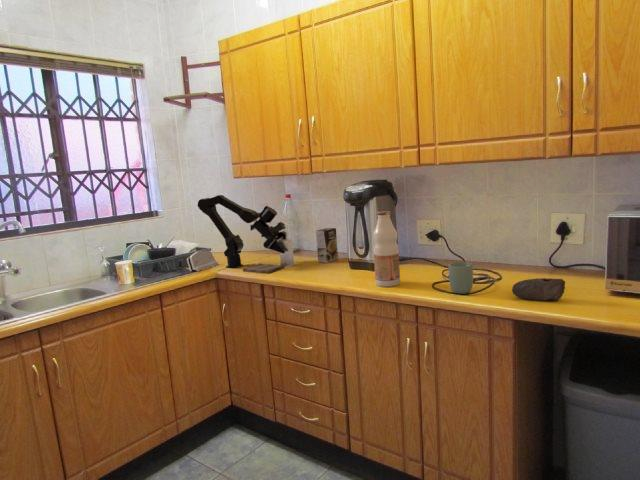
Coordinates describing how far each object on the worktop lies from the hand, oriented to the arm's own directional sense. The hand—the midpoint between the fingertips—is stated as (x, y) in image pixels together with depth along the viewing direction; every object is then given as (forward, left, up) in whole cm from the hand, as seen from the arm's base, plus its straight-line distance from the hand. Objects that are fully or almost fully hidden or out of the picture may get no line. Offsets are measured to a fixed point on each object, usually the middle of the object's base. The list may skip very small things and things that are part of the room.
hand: (287, 250), depth 220 cm
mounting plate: (-7, -11, -7) cm, 15 cm away
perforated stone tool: (+115, -18, -8) cm, 116 cm away
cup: (+91, -18, -8) cm, 93 cm away
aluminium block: (-1, 0, -7) cm, 7 cm away
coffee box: (+14, +14, -8) cm, 21 cm away
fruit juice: (+62, -16, -8) cm, 64 cm away
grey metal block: (-44, -17, -8) cm, 48 cm away
